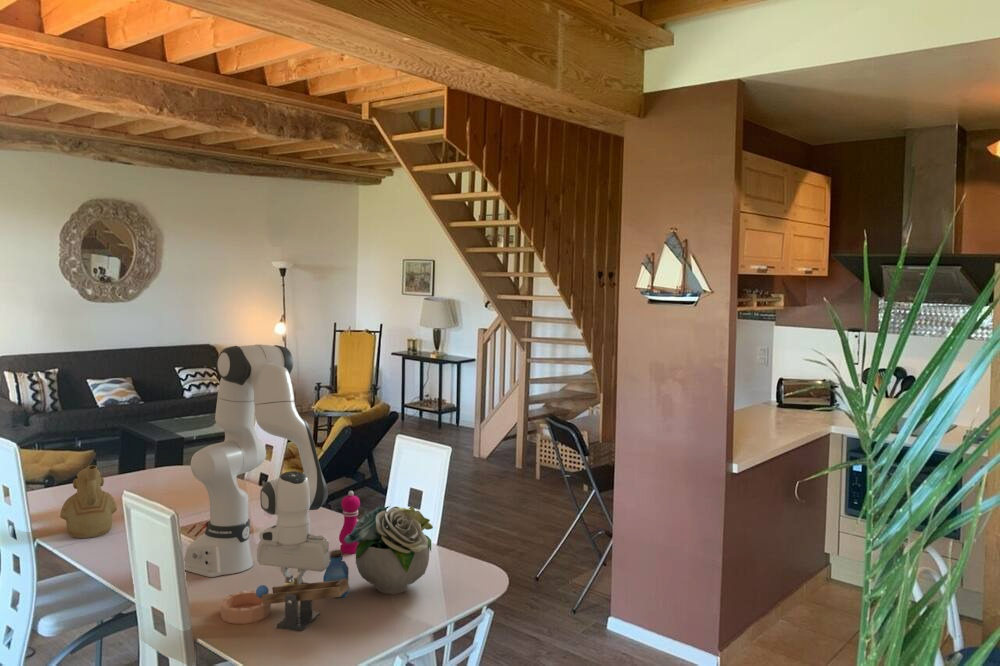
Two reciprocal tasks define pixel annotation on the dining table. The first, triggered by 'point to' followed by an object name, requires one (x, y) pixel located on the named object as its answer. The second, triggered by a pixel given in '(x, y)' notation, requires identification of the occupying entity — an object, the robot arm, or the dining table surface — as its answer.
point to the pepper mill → (349, 522)
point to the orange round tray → (244, 608)
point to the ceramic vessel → (88, 506)
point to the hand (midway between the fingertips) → (293, 583)
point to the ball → (261, 591)
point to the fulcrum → (297, 614)
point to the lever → (307, 591)
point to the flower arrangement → (391, 547)
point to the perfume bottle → (336, 568)
